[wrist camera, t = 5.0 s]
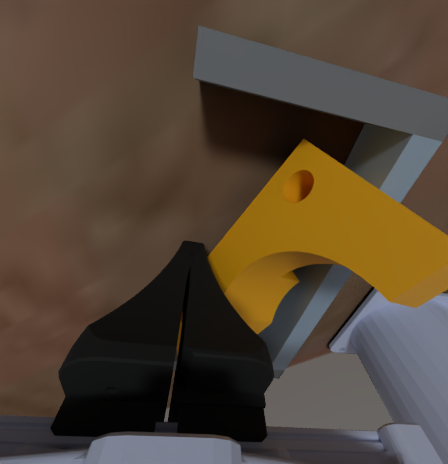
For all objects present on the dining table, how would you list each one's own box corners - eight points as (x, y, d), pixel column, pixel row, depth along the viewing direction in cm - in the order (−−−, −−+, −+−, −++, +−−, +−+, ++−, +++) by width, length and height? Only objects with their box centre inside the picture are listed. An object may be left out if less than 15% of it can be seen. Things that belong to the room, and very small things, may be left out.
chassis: (403, 100, 10) (468, 103, 7) (270, 340, 19) (278, 378, 17) (203, 44, 9) (198, 25, 6) (167, 330, 18) (159, 369, 16)
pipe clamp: (221, 307, 17) (255, 411, 12) (169, 303, 14) (189, 431, 10) (349, 180, 12) (485, 278, 7) (303, 138, 9) (468, 249, 5)
